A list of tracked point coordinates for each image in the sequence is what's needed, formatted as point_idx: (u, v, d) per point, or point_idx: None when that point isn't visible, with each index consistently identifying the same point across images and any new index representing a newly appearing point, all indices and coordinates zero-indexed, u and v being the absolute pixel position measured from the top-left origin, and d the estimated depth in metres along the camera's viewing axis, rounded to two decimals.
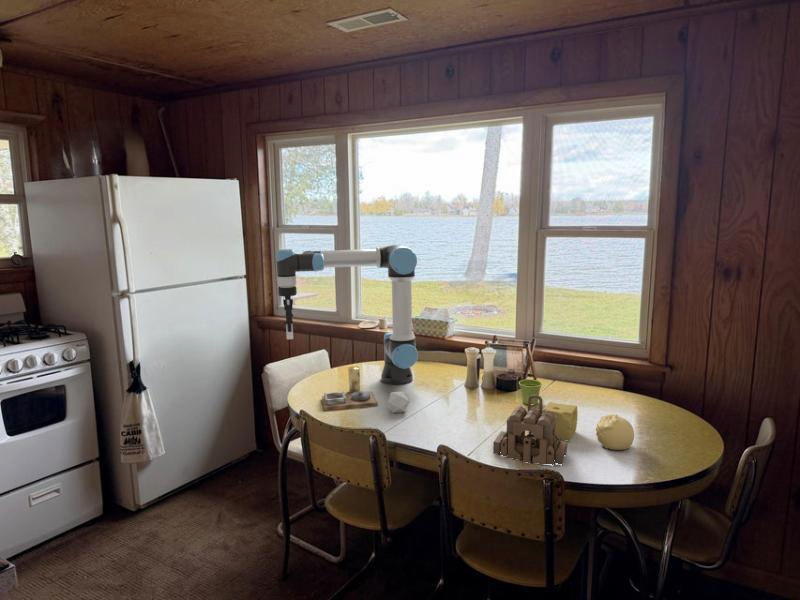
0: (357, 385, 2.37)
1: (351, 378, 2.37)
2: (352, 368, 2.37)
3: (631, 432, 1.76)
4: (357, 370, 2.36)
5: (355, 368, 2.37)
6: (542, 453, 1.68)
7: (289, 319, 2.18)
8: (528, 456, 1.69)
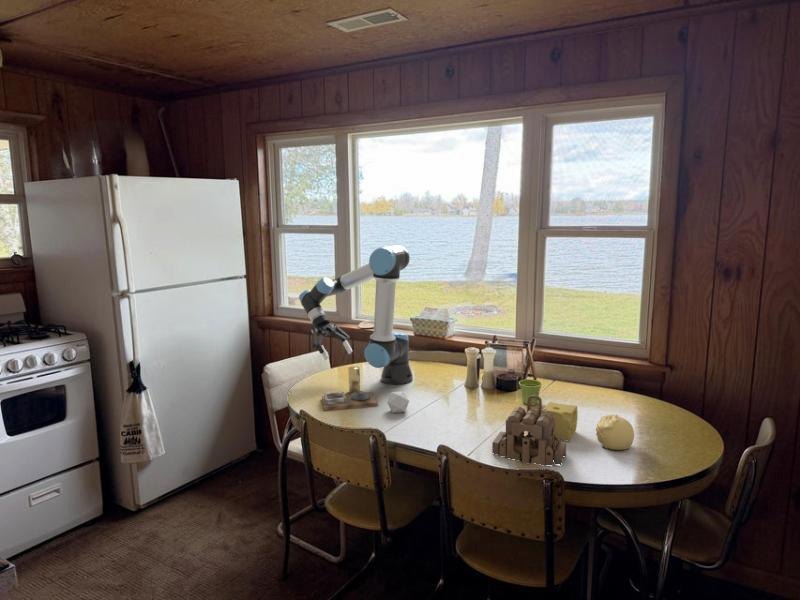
0: (357, 385, 2.37)
1: (351, 378, 2.37)
2: (352, 368, 2.37)
3: (631, 432, 1.76)
4: (357, 370, 2.36)
5: (355, 368, 2.37)
6: (541, 453, 1.68)
7: (313, 343, 2.42)
8: (527, 456, 1.69)
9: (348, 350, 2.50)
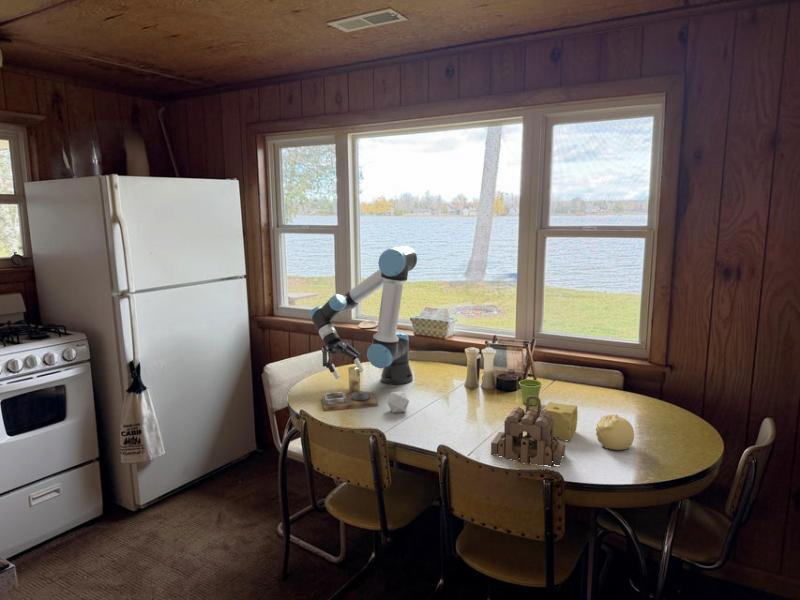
0: (357, 385, 2.37)
1: (351, 378, 2.37)
2: (352, 368, 2.37)
3: (631, 432, 1.76)
4: (357, 370, 2.36)
5: (355, 368, 2.37)
6: (539, 454, 1.67)
7: (324, 362, 2.37)
8: (526, 457, 1.69)
9: None
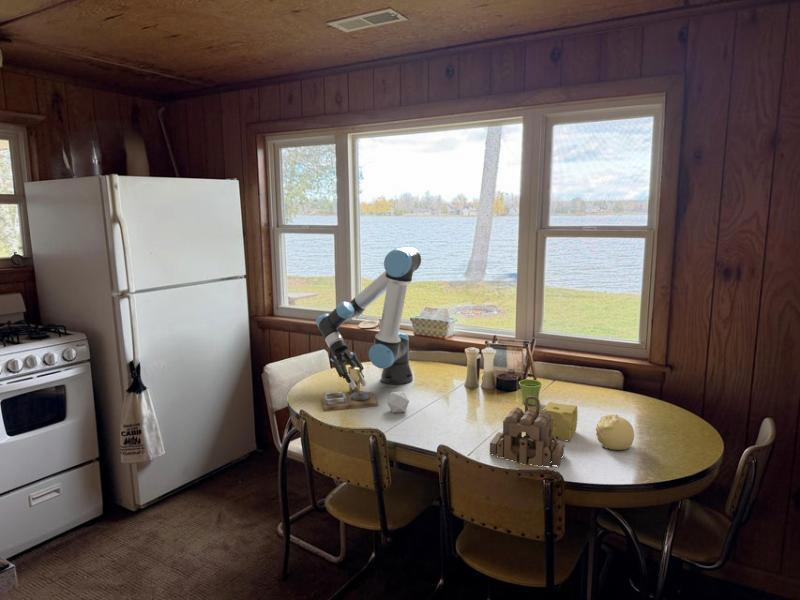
0: (357, 385, 2.37)
1: None
2: (352, 368, 2.37)
3: (631, 432, 1.76)
4: (357, 370, 2.36)
5: (355, 368, 2.37)
6: (538, 454, 1.67)
7: (340, 373, 2.36)
8: (524, 457, 1.69)
9: (362, 382, 2.39)
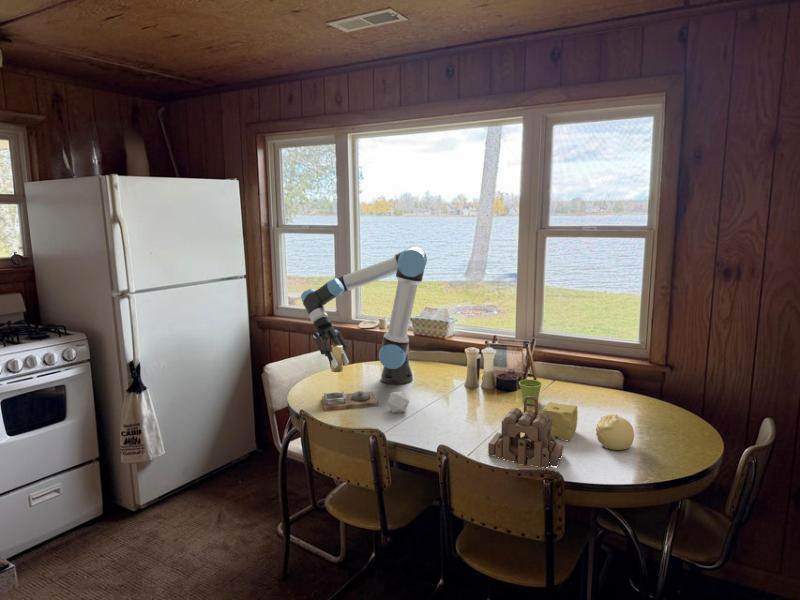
0: (339, 363, 2.27)
1: None
2: (335, 346, 2.28)
3: (631, 432, 1.76)
4: (340, 348, 2.26)
5: (338, 346, 2.27)
6: (536, 455, 1.67)
7: (321, 350, 2.26)
8: (523, 458, 1.68)
9: (344, 361, 2.29)
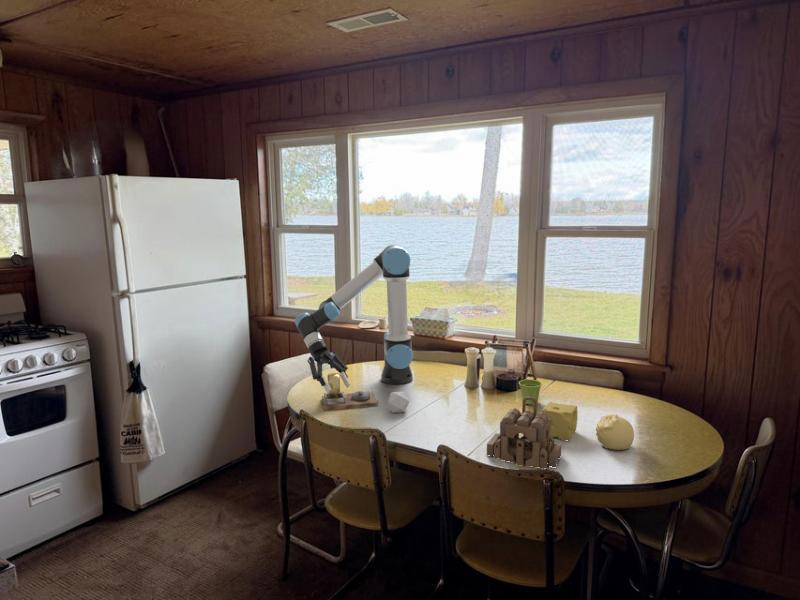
0: (337, 393, 2.22)
1: (330, 386, 2.22)
2: (331, 375, 2.23)
3: (631, 432, 1.76)
4: (337, 377, 2.22)
5: (334, 375, 2.23)
6: (535, 456, 1.66)
7: (314, 375, 2.20)
8: (521, 459, 1.68)
9: (345, 383, 2.25)
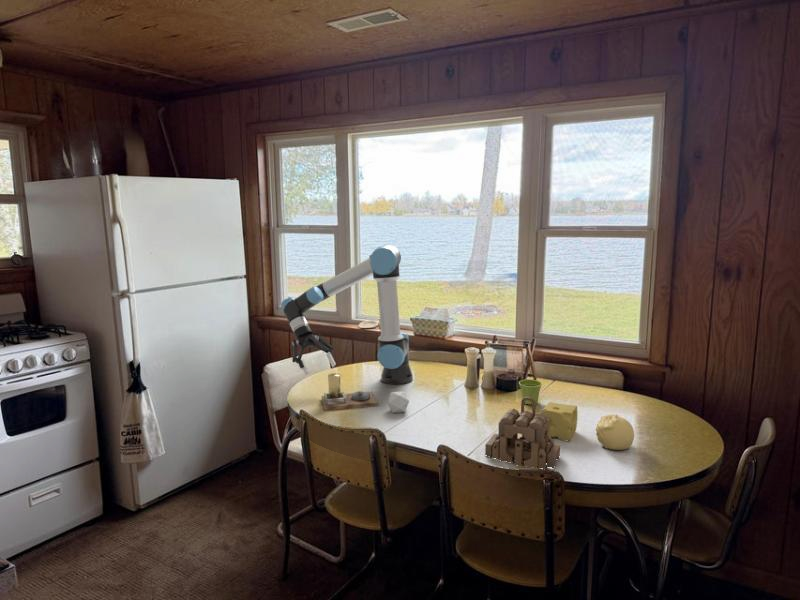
0: (337, 393, 2.22)
1: (330, 386, 2.22)
2: (332, 375, 2.23)
3: (631, 432, 1.76)
4: (337, 377, 2.22)
5: (335, 375, 2.23)
6: (533, 456, 1.66)
7: (293, 357, 2.30)
8: (520, 459, 1.67)
9: (331, 363, 2.37)
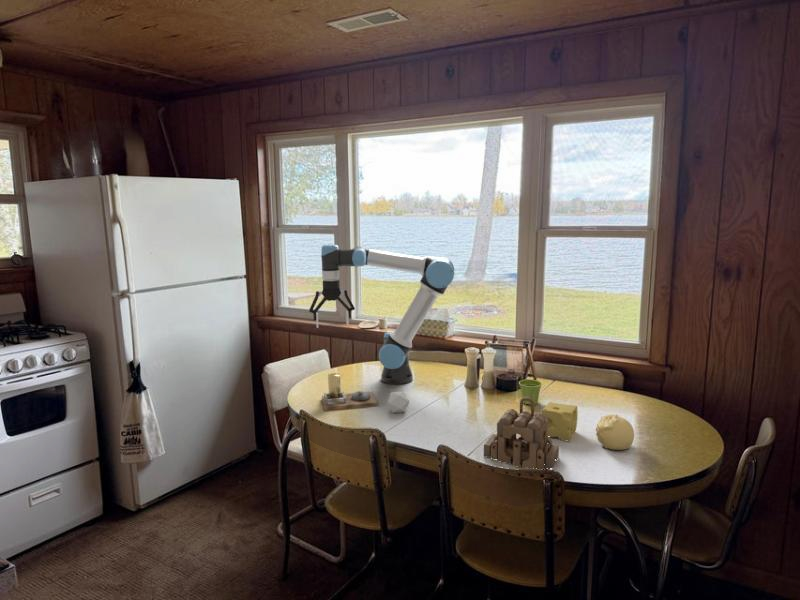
0: (337, 393, 2.22)
1: (331, 386, 2.22)
2: (332, 375, 2.22)
3: (631, 432, 1.76)
4: (338, 377, 2.21)
5: (335, 375, 2.22)
6: (532, 457, 1.65)
7: (310, 308, 2.37)
8: (518, 460, 1.67)
9: None
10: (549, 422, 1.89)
